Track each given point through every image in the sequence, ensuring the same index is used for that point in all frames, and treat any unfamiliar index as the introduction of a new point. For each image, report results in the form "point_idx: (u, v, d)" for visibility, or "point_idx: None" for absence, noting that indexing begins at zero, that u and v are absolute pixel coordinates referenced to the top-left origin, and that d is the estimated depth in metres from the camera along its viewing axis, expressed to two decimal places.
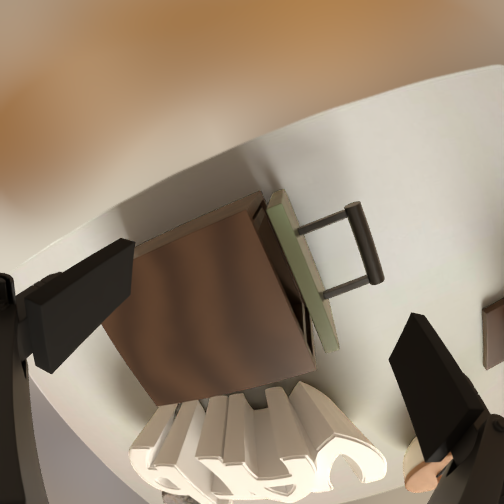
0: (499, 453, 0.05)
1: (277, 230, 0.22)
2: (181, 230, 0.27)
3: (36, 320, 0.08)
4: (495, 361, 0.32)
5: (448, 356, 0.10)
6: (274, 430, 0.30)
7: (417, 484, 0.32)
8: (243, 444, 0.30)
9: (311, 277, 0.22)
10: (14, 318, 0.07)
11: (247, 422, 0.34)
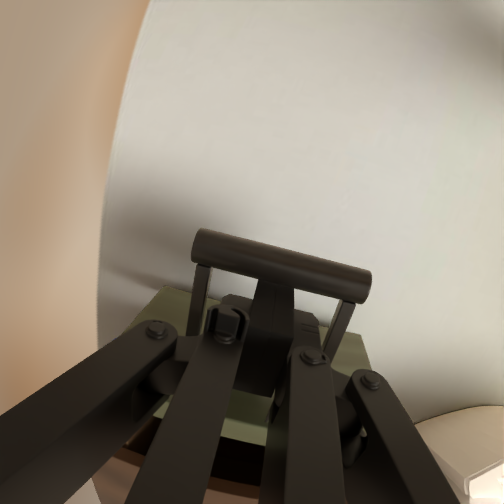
0: (320, 389, 0.08)
1: None
2: None
3: (256, 345, 0.10)
4: None
5: (288, 293, 0.12)
6: None
7: None
8: None
9: (229, 420, 0.10)
10: (239, 356, 0.08)
11: None
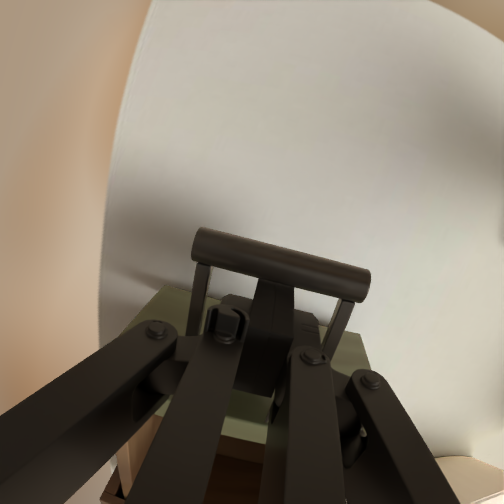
0: (319, 389, 0.08)
1: None
2: None
3: (256, 346, 0.10)
4: None
5: (288, 293, 0.12)
6: None
7: None
8: None
9: (228, 418, 0.11)
10: (239, 356, 0.08)
11: None
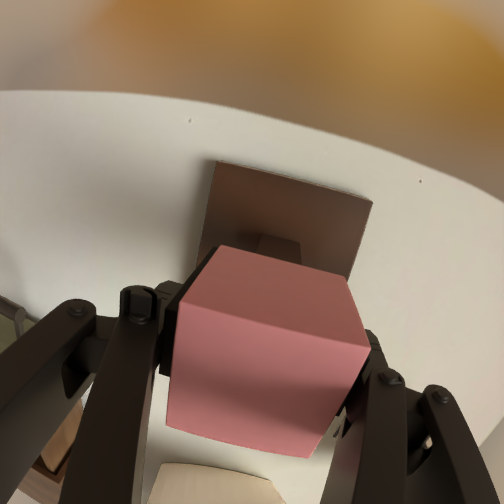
0: (393, 408, 0.07)
1: None
2: None
3: None
4: None
5: None
6: None
7: None
8: None
9: None
10: (155, 335, 0.08)
11: None
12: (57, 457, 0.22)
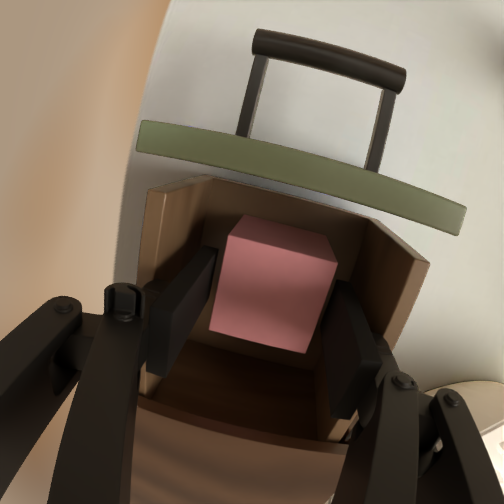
0: (406, 411, 0.07)
1: (176, 152, 0.11)
2: None
3: (161, 327, 0.09)
4: None
5: (359, 315, 0.12)
6: None
7: None
8: None
9: (298, 152, 0.10)
10: (139, 332, 0.08)
11: None
12: None
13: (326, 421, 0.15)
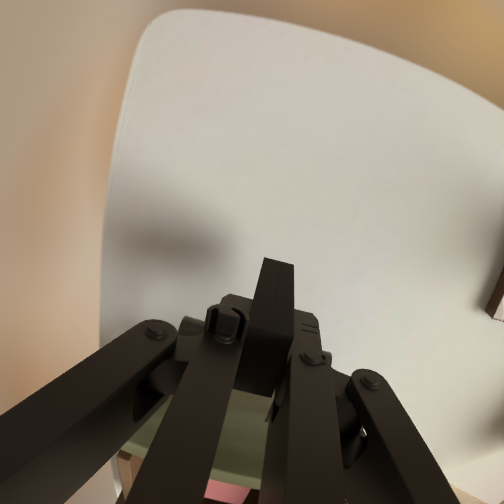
0: (320, 389, 0.08)
1: (129, 451, 0.13)
2: None
3: (256, 345, 0.10)
4: None
5: (288, 293, 0.12)
6: None
7: None
8: None
9: None
10: (239, 356, 0.08)
11: None
12: None
13: None
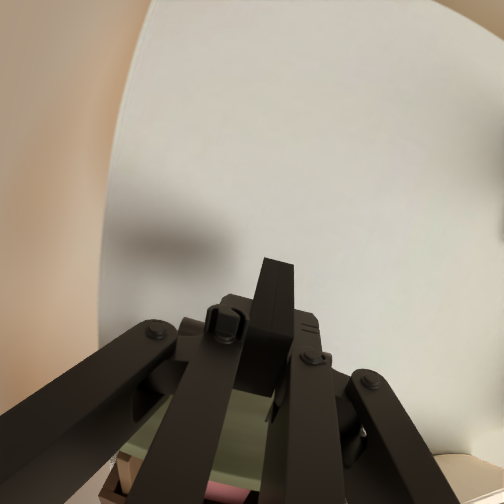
0: (319, 389, 0.08)
1: (128, 453, 0.12)
2: None
3: (256, 345, 0.10)
4: None
5: (288, 293, 0.12)
6: None
7: None
8: None
9: None
10: (239, 356, 0.08)
11: None
12: None
13: None
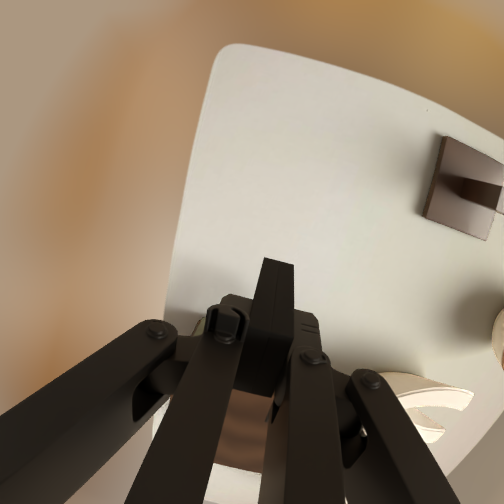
0: (319, 389, 0.08)
1: None
2: None
3: (256, 345, 0.10)
4: (486, 227, 0.31)
5: (288, 293, 0.12)
6: None
7: None
8: None
9: None
10: (239, 356, 0.08)
11: None
12: None
13: None
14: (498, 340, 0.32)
